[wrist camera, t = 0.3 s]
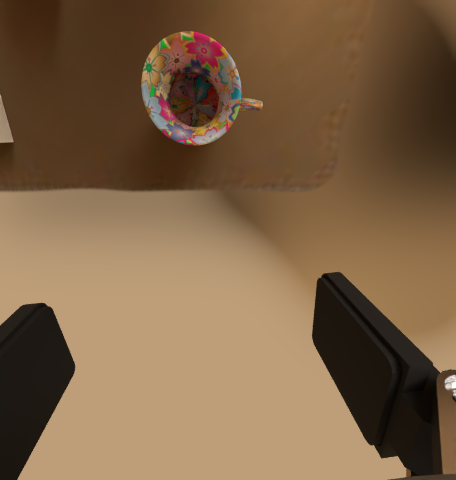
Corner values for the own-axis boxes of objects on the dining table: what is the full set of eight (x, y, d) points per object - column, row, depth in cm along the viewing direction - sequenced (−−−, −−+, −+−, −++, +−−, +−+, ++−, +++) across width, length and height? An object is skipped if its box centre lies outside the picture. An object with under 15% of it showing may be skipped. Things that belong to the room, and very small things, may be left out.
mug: (159, 138, 34) (141, 139, 24) (159, 58, 31) (139, 21, 21) (244, 148, 36) (261, 153, 26) (254, 72, 32) (277, 45, 23)
